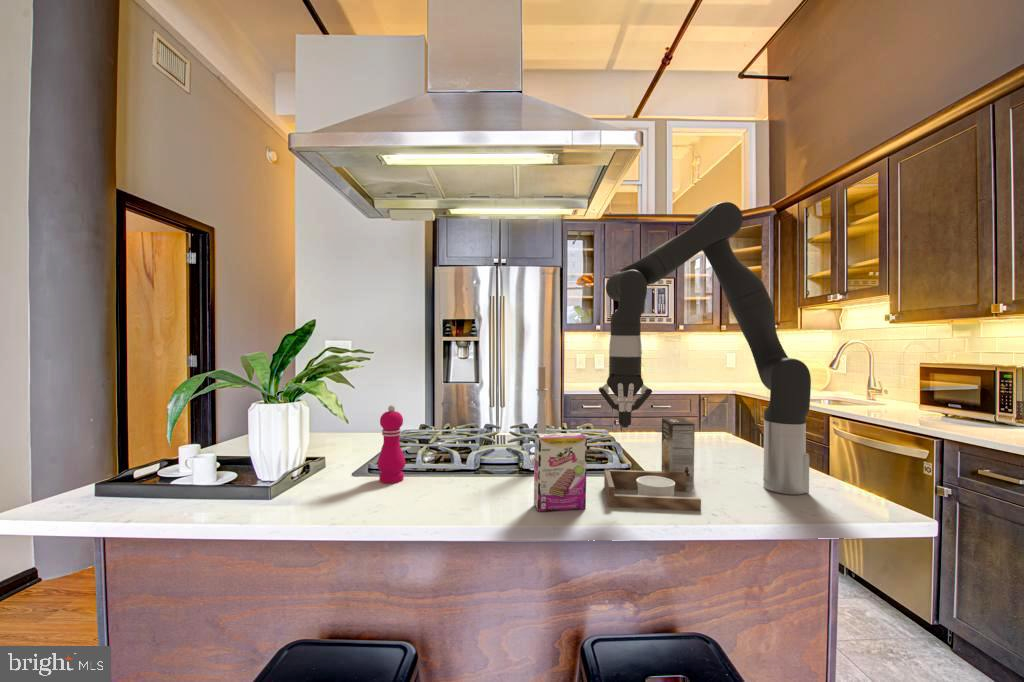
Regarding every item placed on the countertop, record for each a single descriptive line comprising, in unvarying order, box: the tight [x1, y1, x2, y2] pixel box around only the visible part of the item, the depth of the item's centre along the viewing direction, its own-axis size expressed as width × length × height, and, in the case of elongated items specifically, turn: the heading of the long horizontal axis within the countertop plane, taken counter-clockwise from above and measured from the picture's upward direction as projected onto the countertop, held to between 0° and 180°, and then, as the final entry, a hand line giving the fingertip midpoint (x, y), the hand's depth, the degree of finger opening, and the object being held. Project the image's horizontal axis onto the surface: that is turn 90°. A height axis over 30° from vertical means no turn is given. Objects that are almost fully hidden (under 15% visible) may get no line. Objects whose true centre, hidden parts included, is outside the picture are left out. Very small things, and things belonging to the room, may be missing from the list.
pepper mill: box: [377, 404, 406, 484], centre depth 128 cm, size 7×7×20 cm
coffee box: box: [661, 417, 696, 486], centre depth 130 cm, size 9×6×16 cm
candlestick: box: [519, 366, 549, 468], centre depth 143 cm, size 13×13×30 cm
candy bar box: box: [533, 432, 588, 512], centre depth 108 cm, size 11×5×16 cm, turn 100°
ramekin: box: [636, 476, 675, 497], centre depth 115 cm, size 9×9×4 cm
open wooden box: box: [603, 469, 702, 511], centre depth 115 cm, size 20×14×4 cm
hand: (624, 426), depth 115 cm, fingers closed
